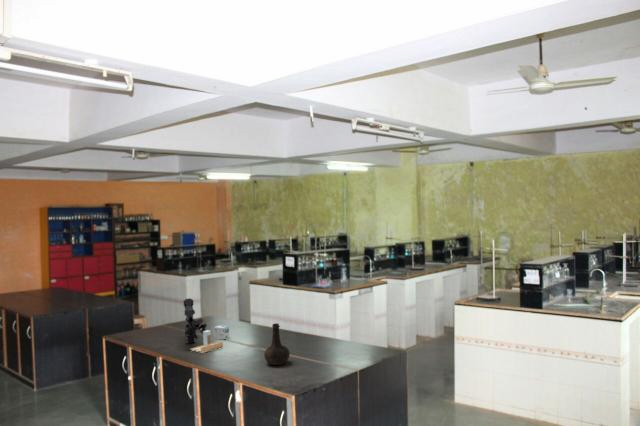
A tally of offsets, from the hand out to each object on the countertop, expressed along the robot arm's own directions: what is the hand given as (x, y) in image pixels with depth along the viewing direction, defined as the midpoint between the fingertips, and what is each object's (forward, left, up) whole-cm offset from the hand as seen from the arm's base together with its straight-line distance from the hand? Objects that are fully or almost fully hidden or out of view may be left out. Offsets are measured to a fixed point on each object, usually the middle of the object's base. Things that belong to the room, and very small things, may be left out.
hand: (201, 337), depth 408 cm
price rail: (+12, +1, -7) cm, 14 cm away
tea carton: (+7, +1, -7) cm, 10 cm away
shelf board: (+5, +1, -9) cm, 11 cm away
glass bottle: (+81, +7, -10) cm, 82 cm away
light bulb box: (-13, +30, -10) cm, 34 cm away
